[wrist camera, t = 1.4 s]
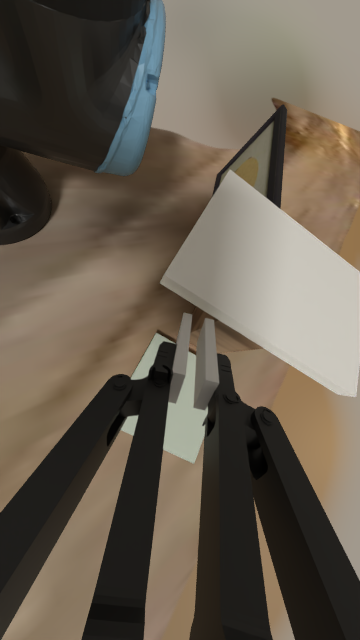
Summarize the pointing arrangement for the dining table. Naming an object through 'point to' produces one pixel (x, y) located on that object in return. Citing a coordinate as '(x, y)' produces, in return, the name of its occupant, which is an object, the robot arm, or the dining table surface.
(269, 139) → the picture frame
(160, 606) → the dining table surface
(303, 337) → the small white table
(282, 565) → the robot arm
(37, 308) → the dining table surface
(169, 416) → the mat
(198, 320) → the walnut block
